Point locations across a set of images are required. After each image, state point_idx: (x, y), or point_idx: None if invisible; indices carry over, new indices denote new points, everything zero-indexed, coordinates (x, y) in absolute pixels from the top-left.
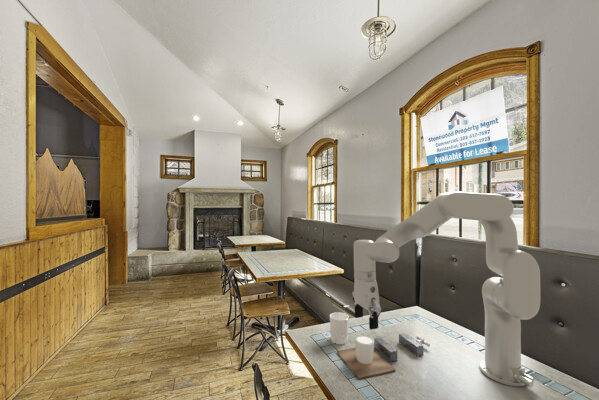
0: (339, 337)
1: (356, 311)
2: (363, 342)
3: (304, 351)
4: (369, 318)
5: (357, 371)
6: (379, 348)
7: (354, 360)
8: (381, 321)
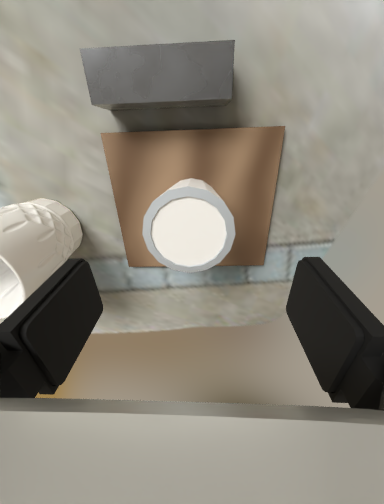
0: (71, 251)
1: (78, 348)
2: (206, 249)
3: (113, 328)
4: (335, 393)
5: (239, 256)
6: (145, 106)
7: None
8: None
